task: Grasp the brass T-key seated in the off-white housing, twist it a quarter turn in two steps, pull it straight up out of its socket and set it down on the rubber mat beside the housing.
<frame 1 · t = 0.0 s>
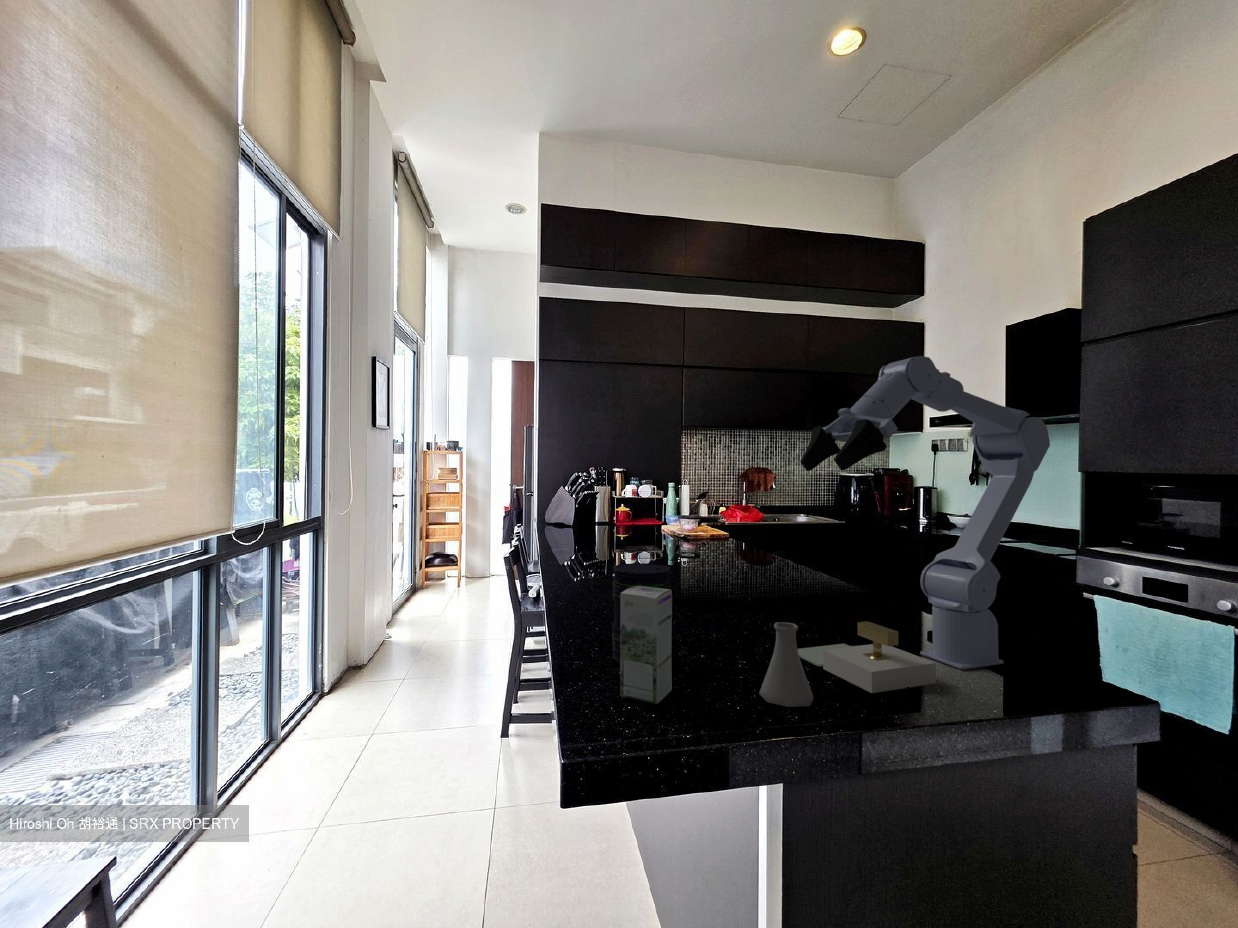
hand: (820, 465, 80), 32 cm above the worktop, tool tilted 50°, fingers open, 7 cm apart
mat: (831, 655, 90), on the worktop
t key: (877, 676, 81), resting in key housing
flask: (786, 699, 73), on the worktop
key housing: (877, 675, 81), on the worktop
syrup box: (646, 695, 74), on the worktop
storage jar: (641, 657, 89), on the worktop
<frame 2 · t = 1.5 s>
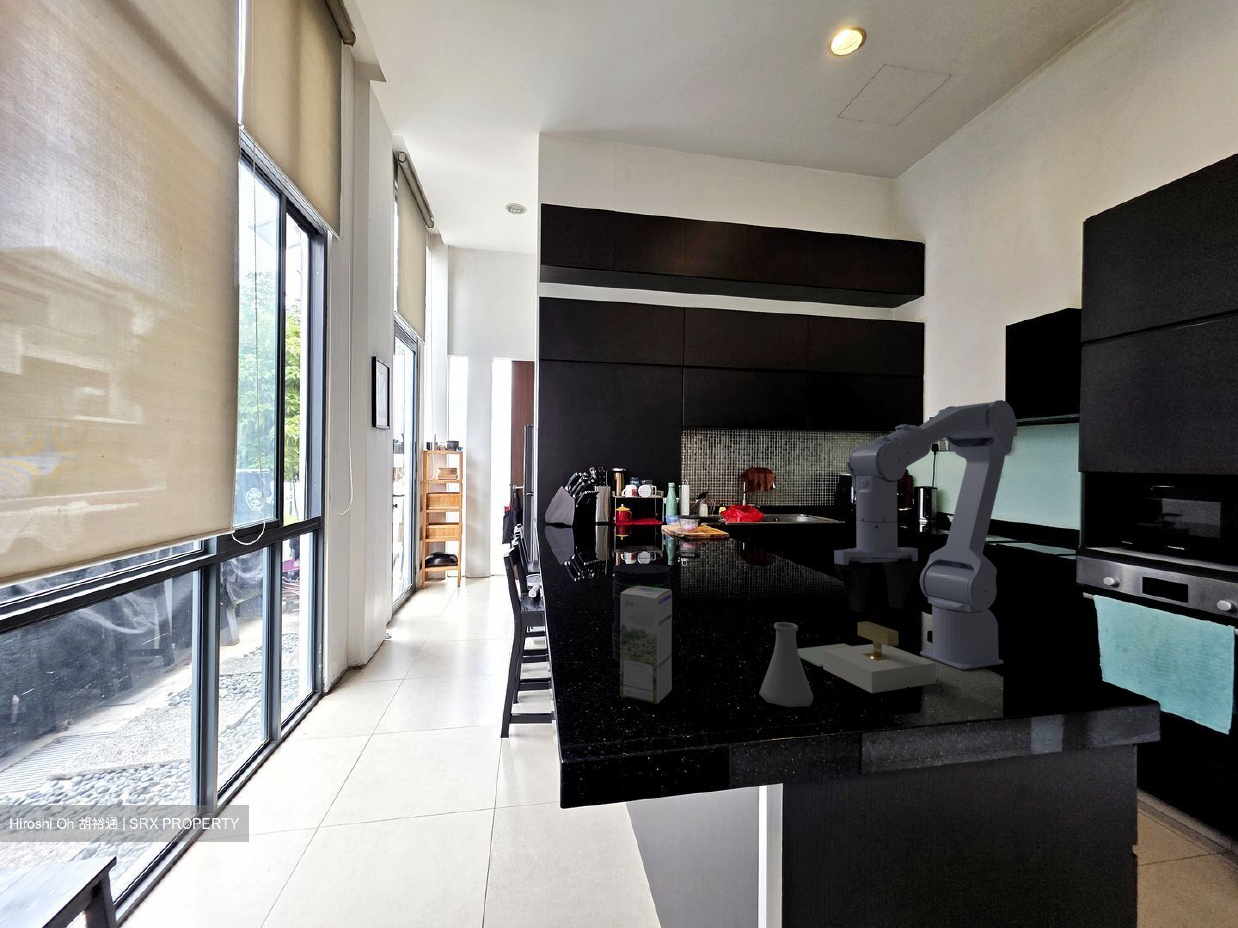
hand: (877, 609, 81), 10 cm above the worktop, tool pointing down, fingers open, 7 cm apart
nothing on the worktop moved.
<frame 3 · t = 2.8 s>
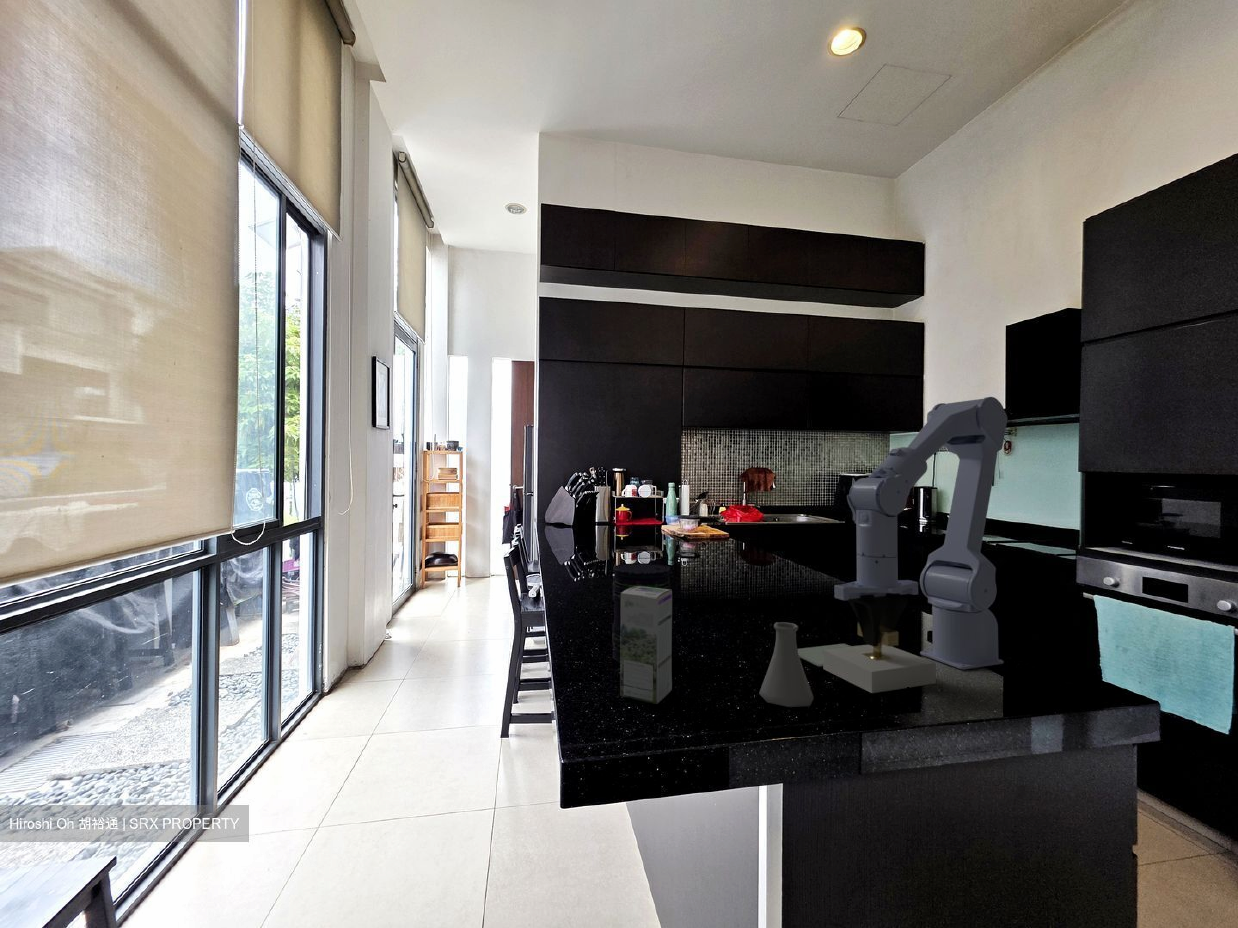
hand: (877, 643, 81), 5 cm above the worktop, tool pointing down, fingers closed on t key, 2 cm apart
t key: (877, 676, 81), resting in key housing, touching gripper
everything else where it was.
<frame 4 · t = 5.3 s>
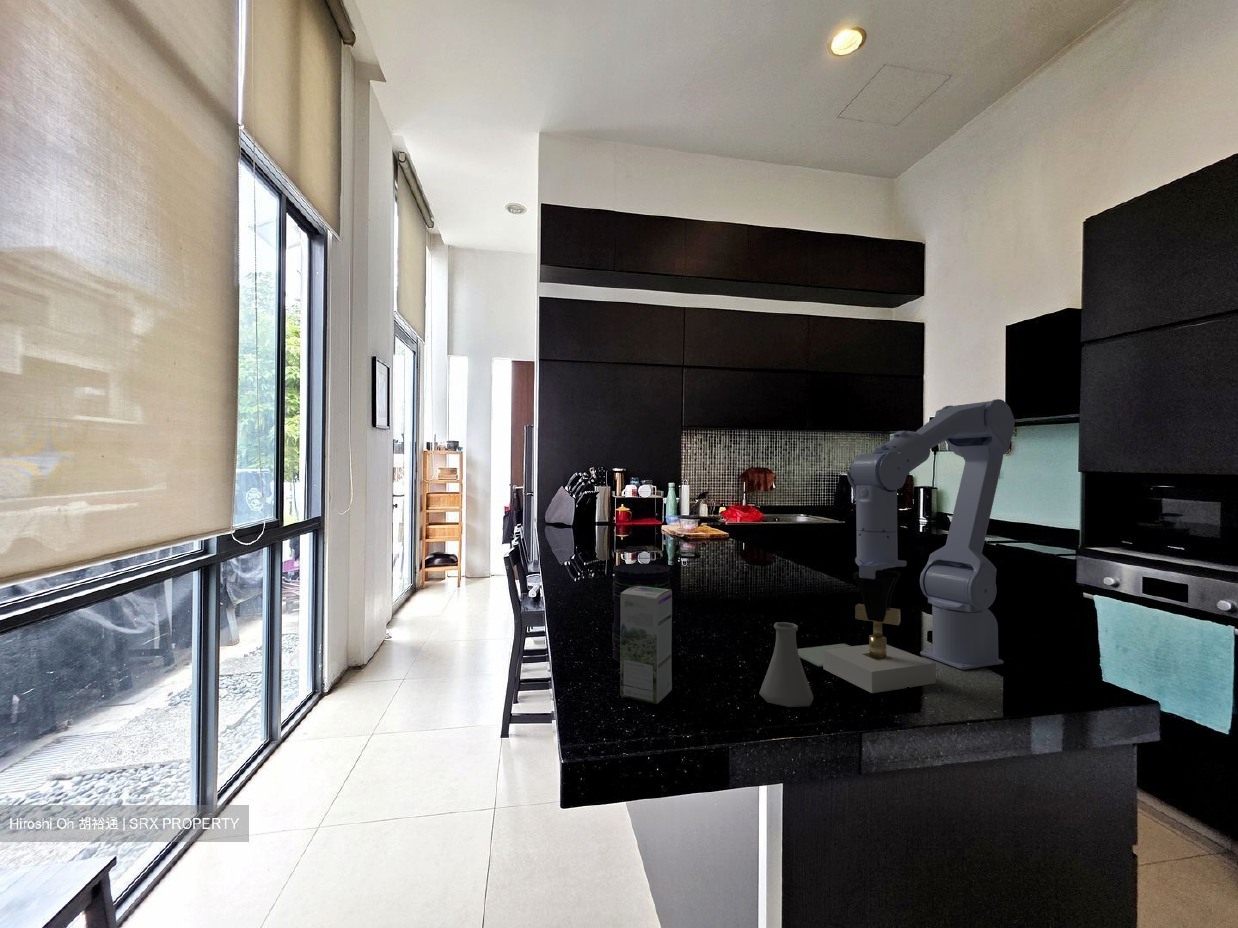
hand: (877, 618, 81), 9 cm above the worktop, tool pointing down, fingers closed on t key
t key: (877, 656, 81), point 3 cm above the worktop, touching gripper
everything else where it was.
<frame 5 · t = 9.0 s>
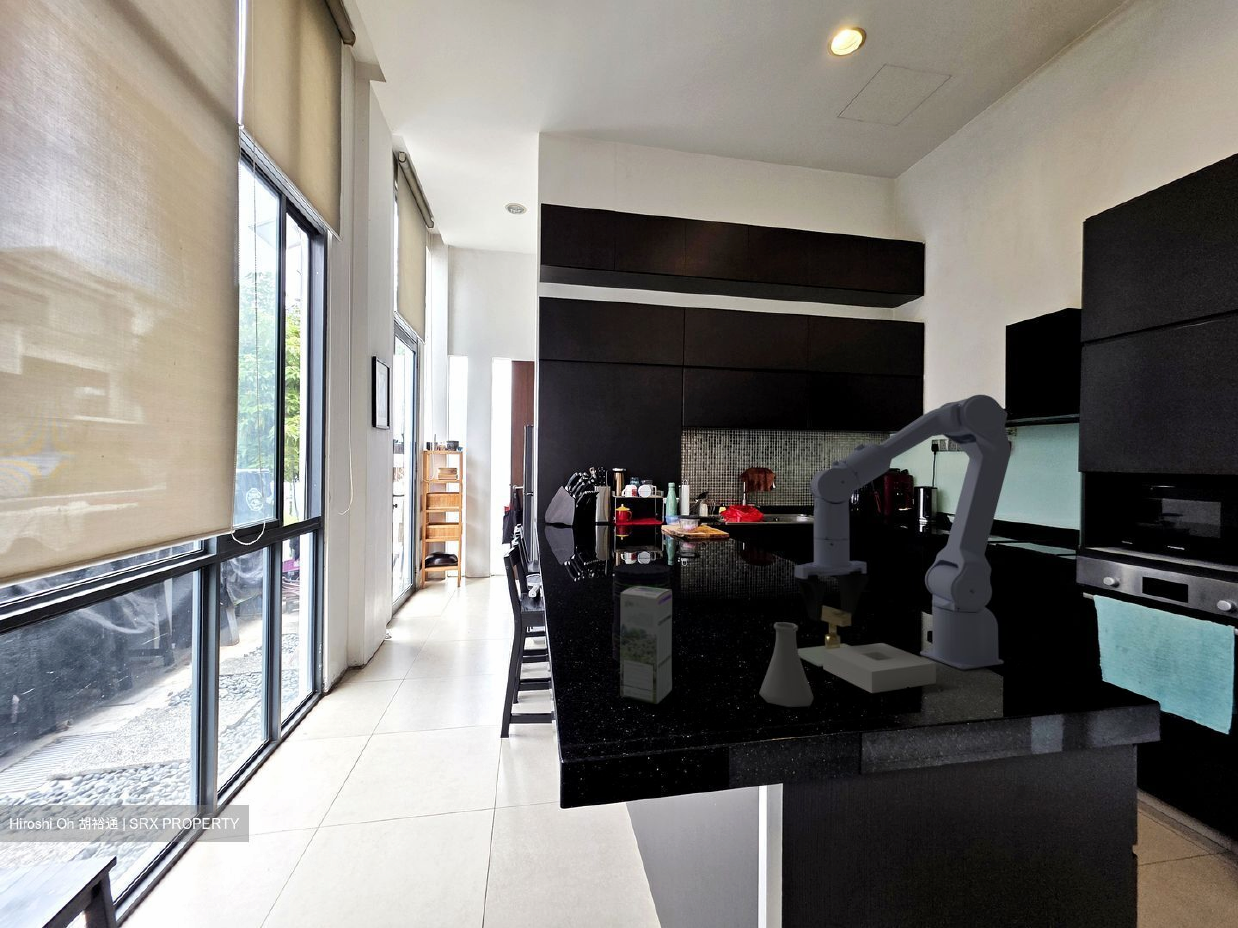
hand: (831, 617, 91), 6 cm above the worktop, tool pointing down, fingers open, 7 cm apart
t key: (832, 653, 90), resting on mat
everything else where it was.
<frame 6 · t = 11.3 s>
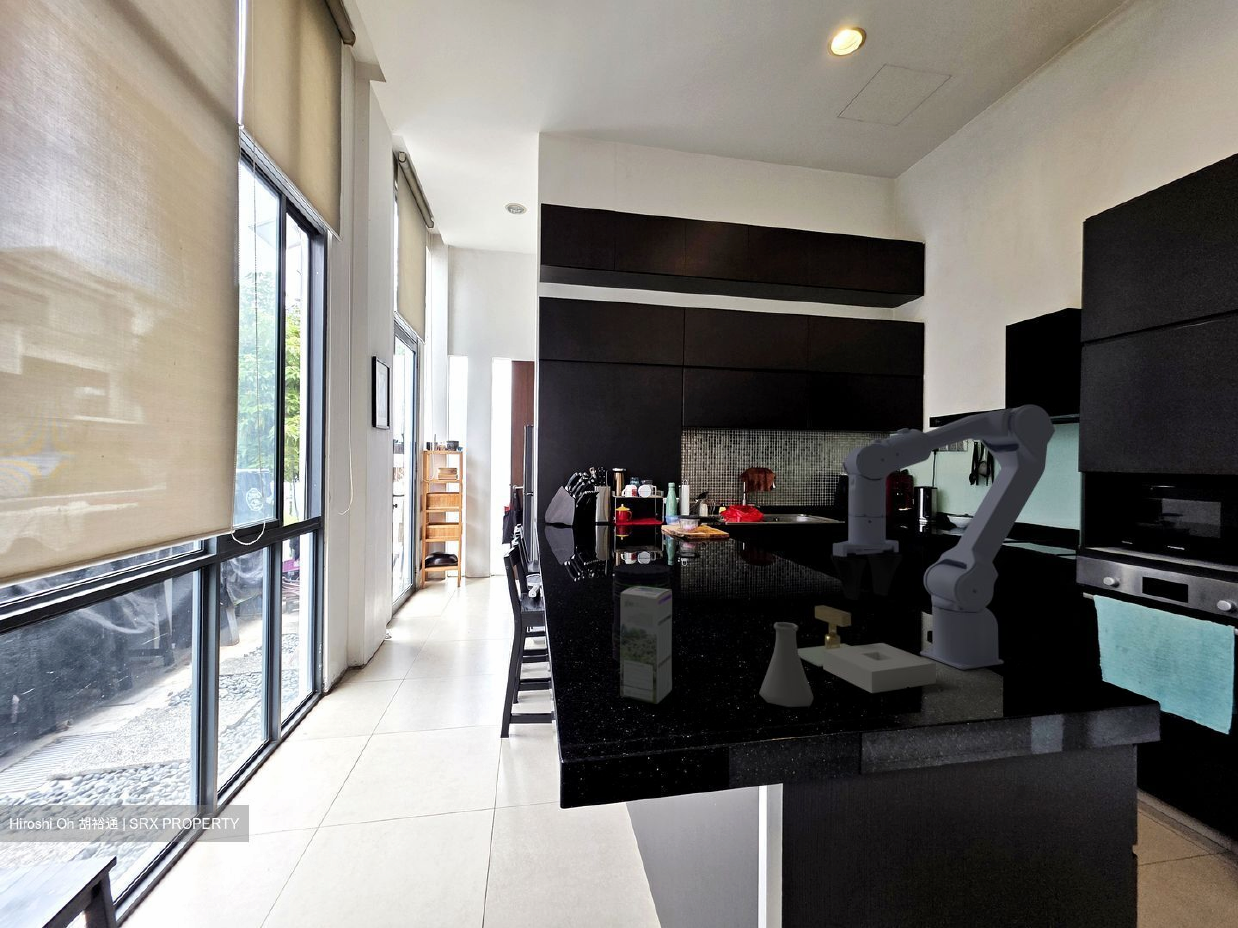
hand: (866, 596, 89), 10 cm above the worktop, tool pointing down, fingers open, 7 cm apart
nothing on the worktop moved.
at the end: t key inside the target area (0.2 cm from its centre), resting on mat; the gripper is holding nothing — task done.
